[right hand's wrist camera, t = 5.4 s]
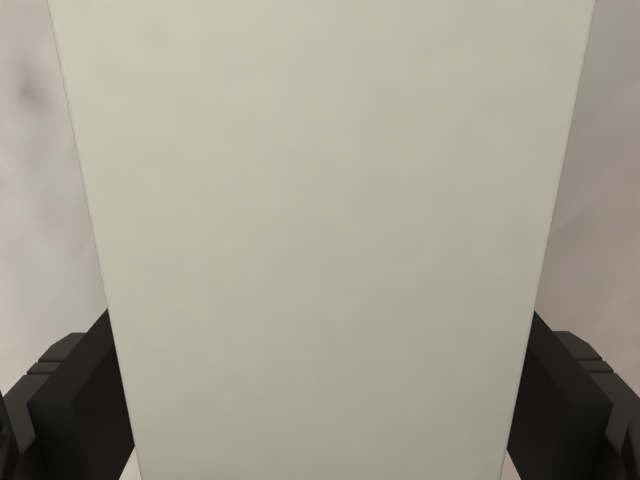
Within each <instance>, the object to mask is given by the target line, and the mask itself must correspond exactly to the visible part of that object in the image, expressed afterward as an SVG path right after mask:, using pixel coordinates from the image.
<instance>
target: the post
mask: <svg viewBox="0 0 640 480" xmlns="http://www.w3.org/2000/svg"><path fill="white" fill-rule="evenodd" d="M47 3H48V8H49V13H50V18H51V23H52V28H53V33H54V39H55V44H56V49H57V54H58V59H59V64H60V69H61V74H62V79H63V84H64V89H65V94H66V99H67V104H68V109H69V114H70V120H71V125H72V130H73V135H74V140H75V145H76V150H77V155H78V160H79V165H80V170H81V175H82V180H83V185H84V190H85V195H86V200H87V206H88V211H89V216H90V221H91V226H92V231H93V236H94V241H95V246H96V251H97V256H98V261H99V266H100V271H101V276H102V281H103V286H104V292H105V297H106V302H107V307H108V312H109V317H110V322H111V327H112V332H113V337H114V342H115V347H116V352H117V357H118V362H119V367H120V372H121V378H122V383H123V388H124V393H125V398H126V403H127V408H128V413H129V418H130V423H131V428H132V433H133V438H134V443H135V448H136V453H137V458H138V464H139V469H140V474H141V479H142V480H500V479H501V473H502V468H503V463H504V458H505V453H506V448H507V443H508V438H509V433H510V428H511V423H512V418H513V413H514V408H515V403H516V398H517V393H518V388H519V383H520V378H521V373H522V368H523V363H524V358H525V353H526V348H527V343H528V338H529V333H530V328H531V323H532V318H533V313H534V308H535V303H536V298H537V293H538V288H539V283H540V278H541V273H542V268H543V263H544V258H545V253H546V248H547V243H548V238H549V233H550V228H551V223H552V218H553V213H554V208H555V203H556V198H557V193H558V188H559V183H560V178H561V173H562V168H563V163H564V158H565V153H566V148H567V143H568V138H569V133H570V128H571V123H572V118H573V113H574V108H575V103H576V98H577V93H578V88H579V83H580V78H581V73H582V68H583V63H584V58H585V53H586V48H587V43H588V38H589V33H590V28H591V23H592V18H593V13H594V8H595V3H596V0H47Z"/></svg>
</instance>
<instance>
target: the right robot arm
mask: <svg viewBox="0 0 640 480" xmlns="http://www.w3.org/2000/svg"><path fill="white" fill-rule="evenodd" d="M613 371H614V370H613V369H612V368H611V367H610V366H609V365H608V364H607V363H606V362H605V361H602V357H601V356H600V355H599V354H598V353H597V352H596V351H595V350H594V349H593V348H592V347H591V346H590V345H589V344H588V343H587V342H585V341H583V340H582V339H580V338H578V337H577V336H575V335H574V334H572V333H570V332H569V331H552V330H551V329H550V328H549V327H548V326H547V325H546V323H545V322H544V321H543V320H542V319H541V318H540V316H539V315H538V314H537V313H536V312H535V311H534V313H533V318H532V323H531V328H530V333H529V338H528V343H527V348H526V353H525V358H524V363H523V368H522V373H521V378H520V383H519V388H518V393H517V398H516V403H515V408H514V413H513V418H512V423H511V428H510V433H509V438H508V443H507V448H506V449H507V451H508V453H509V455H510V457H511V459H512V461H513V463H514V466H515V468H516V470H517V472H518V474H519V476H520V478H521V480H640V398H639V397H638V396H637V395H636V393H635V392H634V391H633V390H632V389H631V388H630V387H629V386H628V385H627V384H626V383H625V382H624V381H623V380H622V379H621V378H620V377H619V375H618V374H617V373H614V372H613ZM134 447H135V443H134V438H133V433H132V428H131V423H130V418H129V413H128V408H127V403H126V398H125V393H124V388H123V383H122V378H121V372H120V367H119V362H118V357H117V352H116V347H115V342H114V337H113V332H112V327H111V322H110V317H109V312H108V308H107V309H106V311H105V312H104V313H103V314H102V315H101V316H100V318H99V319H98V320H97V321H96V322H95V323H94V325H93V326H92V327H91V328H90V329H89V330H88V332H87V333H71V334H69V335H68V336H66V337H64V338H63V339H61V340H59V341H58V342H56V343H55V344H53V345H52V346H51V347H50V348H49V349H48V350H47V351H46V352H45V353H44V354H43V355H42V356H41V357H40V358H39V359H38V363H35V364H34V365H33V366H32V367H31V368H30V369H29V370H28V371H27V375H23V377H22V378H21V379H20V380H19V381H18V382H17V383H16V384H15V385H14V386H13V387H12V388H11V389H10V390H9V391H8V393H7V394H6V395H5V396H4V397H2V394H1V391H0V480H119V478H120V476H121V474H122V472H123V470H124V468H125V466H126V463H127V461H128V459H129V457H130V455H131V453H132V451H133V449H134Z"/></svg>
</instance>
